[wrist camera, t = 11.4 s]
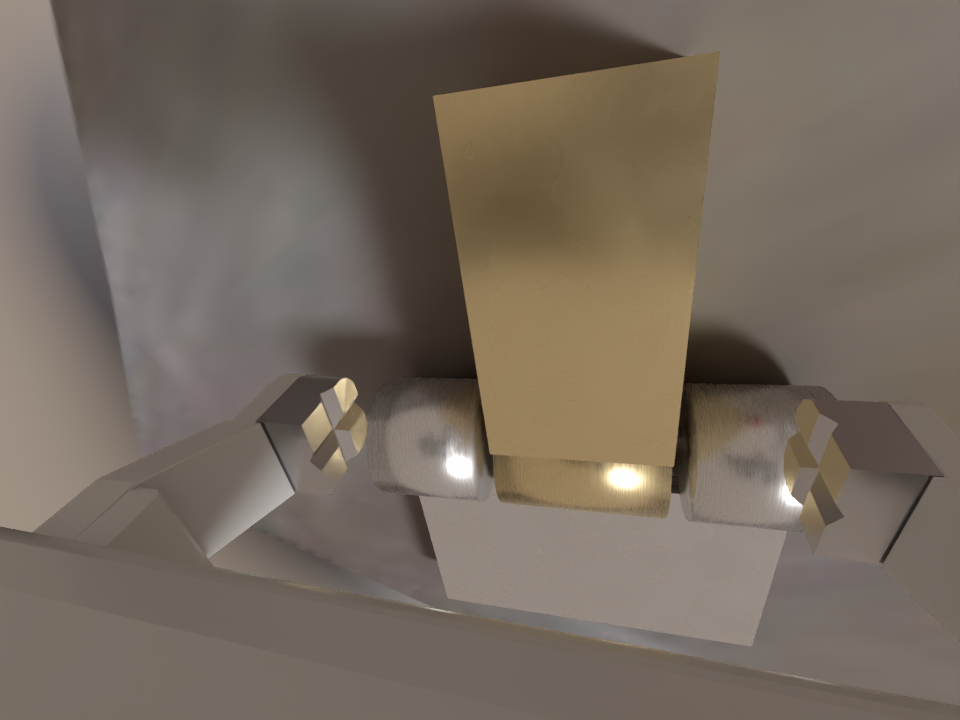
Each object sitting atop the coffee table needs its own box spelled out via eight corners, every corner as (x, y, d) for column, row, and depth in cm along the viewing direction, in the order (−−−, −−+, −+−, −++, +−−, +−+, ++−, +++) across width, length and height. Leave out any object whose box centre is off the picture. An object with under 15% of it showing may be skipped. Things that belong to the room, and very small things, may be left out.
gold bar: (522, 445, 22) (502, 530, 18) (482, 88, 15) (432, 95, 11) (654, 453, 21) (664, 549, 16) (686, 57, 13) (720, 51, 9)
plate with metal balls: (457, 568, 29) (431, 651, 25) (403, 355, 21) (353, 425, 17) (742, 607, 24) (768, 716, 20) (808, 358, 17) (873, 453, 13)
